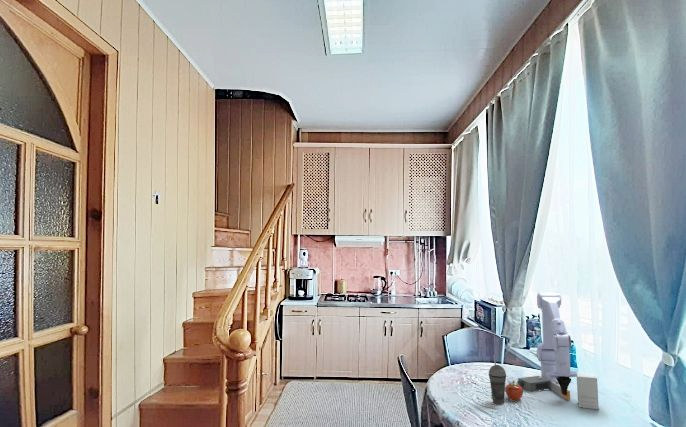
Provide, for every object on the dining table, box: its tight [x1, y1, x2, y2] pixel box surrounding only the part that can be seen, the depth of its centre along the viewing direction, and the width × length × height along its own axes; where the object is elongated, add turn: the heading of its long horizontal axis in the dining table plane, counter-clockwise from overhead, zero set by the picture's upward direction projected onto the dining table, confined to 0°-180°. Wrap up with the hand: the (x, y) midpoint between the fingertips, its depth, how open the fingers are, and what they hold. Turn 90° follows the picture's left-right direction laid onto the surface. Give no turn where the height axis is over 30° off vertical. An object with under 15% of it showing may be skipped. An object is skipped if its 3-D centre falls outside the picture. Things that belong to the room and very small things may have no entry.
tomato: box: [505, 380, 524, 402], centre depth 196 cm, size 7×7×8 cm
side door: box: [550, 381, 571, 401], centre depth 201 cm, size 15×1×4 cm, turn 3°
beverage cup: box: [488, 354, 507, 405], centre depth 193 cm, size 7×7×20 cm
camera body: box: [516, 375, 551, 393], centre depth 210 cm, size 13×8×5 cm, turn 108°
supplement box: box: [576, 371, 600, 410], centre depth 187 cm, size 7×7×13 cm
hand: (564, 394), depth 195 cm, fingers closed
